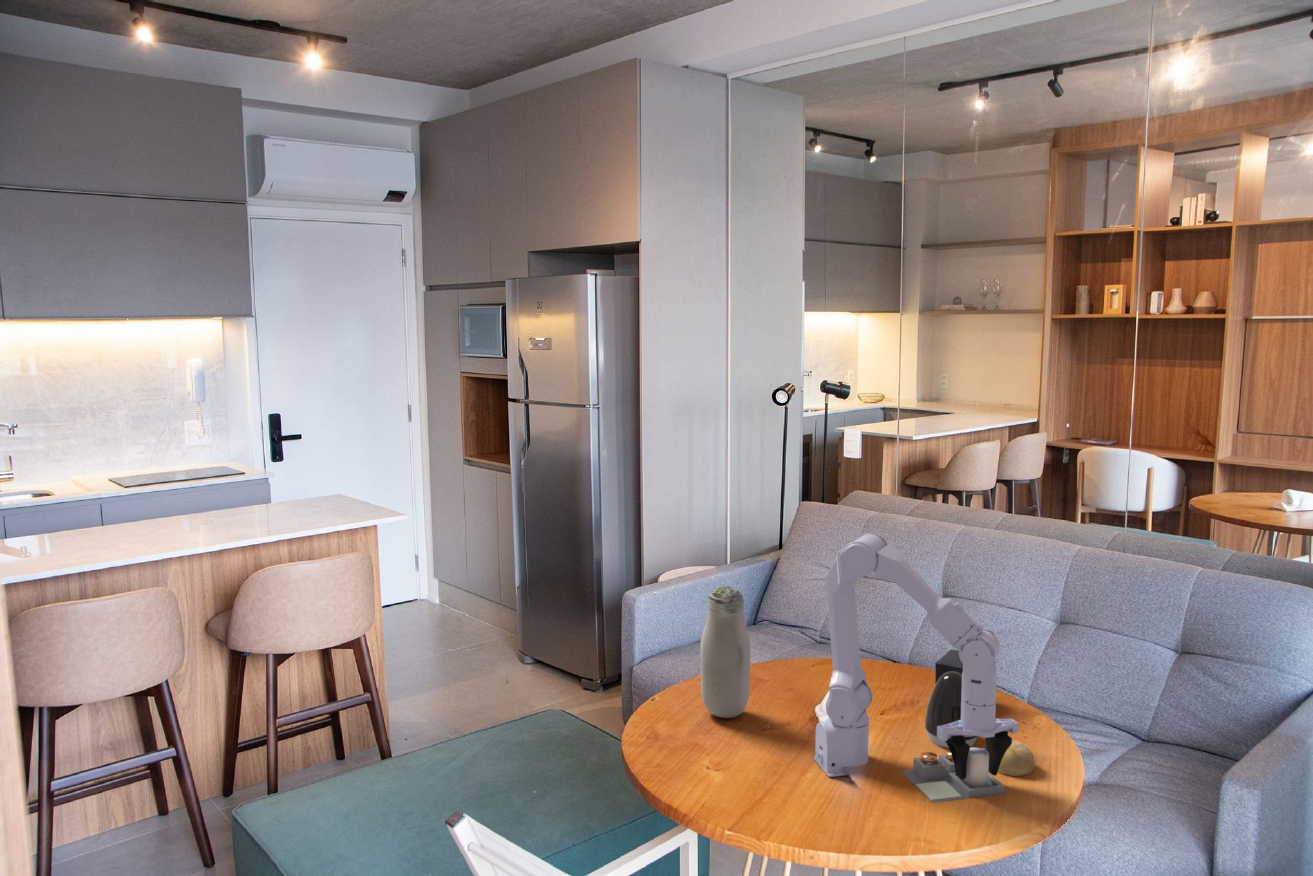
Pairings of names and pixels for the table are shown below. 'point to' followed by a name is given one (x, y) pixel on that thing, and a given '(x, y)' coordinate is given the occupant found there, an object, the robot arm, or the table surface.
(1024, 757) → the onion
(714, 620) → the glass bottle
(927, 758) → the plunger
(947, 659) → the small box
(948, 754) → the plunger
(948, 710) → the pump dispenser
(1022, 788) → the table surface
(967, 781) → the disc
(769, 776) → the table surface
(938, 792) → the housing
